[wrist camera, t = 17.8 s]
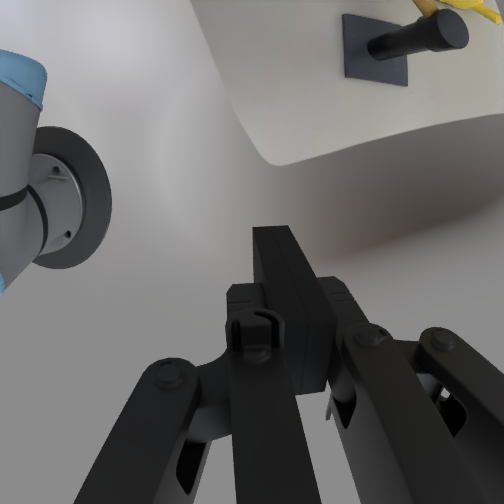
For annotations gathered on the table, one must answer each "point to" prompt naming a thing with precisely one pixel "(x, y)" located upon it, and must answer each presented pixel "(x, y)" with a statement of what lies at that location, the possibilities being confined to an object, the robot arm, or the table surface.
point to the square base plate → (378, 49)
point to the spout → (440, 28)
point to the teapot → (475, 8)
